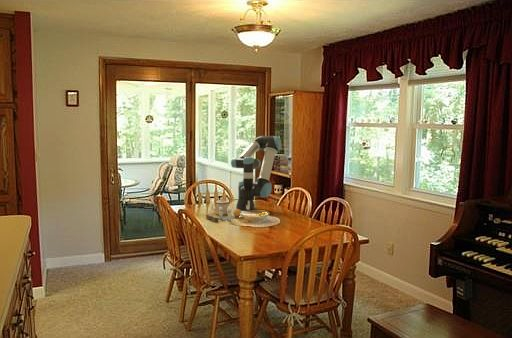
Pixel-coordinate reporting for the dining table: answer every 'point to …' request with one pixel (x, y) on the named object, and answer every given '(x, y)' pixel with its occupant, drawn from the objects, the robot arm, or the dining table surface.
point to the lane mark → (227, 218)
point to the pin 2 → (229, 214)
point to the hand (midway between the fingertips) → (247, 209)
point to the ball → (237, 212)
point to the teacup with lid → (221, 204)
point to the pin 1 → (220, 212)
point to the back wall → (212, 218)
